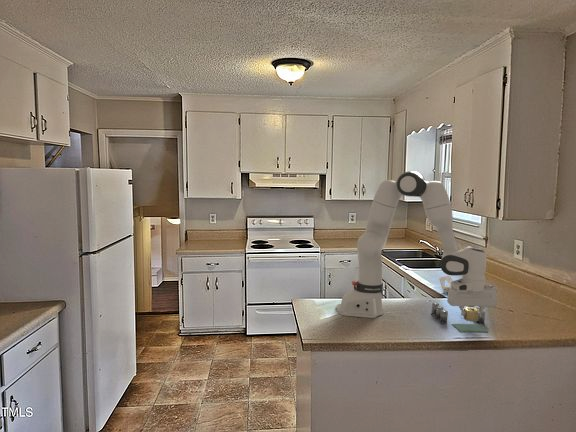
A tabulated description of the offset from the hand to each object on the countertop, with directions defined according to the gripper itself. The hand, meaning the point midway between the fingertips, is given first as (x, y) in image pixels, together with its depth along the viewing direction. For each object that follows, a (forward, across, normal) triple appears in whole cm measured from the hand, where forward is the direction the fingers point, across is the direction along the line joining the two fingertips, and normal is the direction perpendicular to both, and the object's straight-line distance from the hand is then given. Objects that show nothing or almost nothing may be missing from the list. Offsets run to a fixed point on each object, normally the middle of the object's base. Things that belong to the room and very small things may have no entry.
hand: (470, 315), depth 170 cm
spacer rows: (+6, 0, -12) cm, 13 cm away
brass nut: (+2, 0, 0) cm, 2 cm away
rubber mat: (+6, 0, 0) cm, 6 cm away
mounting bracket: (+6, -15, -53) cm, 55 cm away
